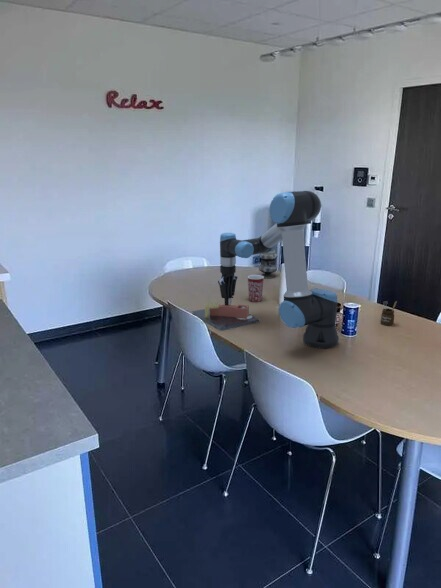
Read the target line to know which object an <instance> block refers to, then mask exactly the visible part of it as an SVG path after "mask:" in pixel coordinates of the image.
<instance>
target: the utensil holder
mask: <svg viewBox="0 0 441 588" xmlns="http://www.w3.org/2000/svg"><path fill="white" fill-rule="evenodd" d="M397 302H398V301H396V300H395V301H394V303H393V306H392V308H389V307H385V306H386V305H383V306H382V307H383V309H382V310H381V311H382V312H381V314H380V324H381V325H383V326H387V327H390V326H393V325H394V321H395V310H394V308H395V307H396V305H397ZM384 303H387V301H384Z"/></svg>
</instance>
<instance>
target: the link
mask: <svg viewBox="0 0 441 588" xmlns="http://www.w3.org/2000/svg"><path fill="white" fill-rule="evenodd" d="M218 305H219V308H212V309H210V316H225V317H235V318H242V319H247V317H248V315H249V314H250V313H249V311H250V310H249V304H248V305H246V304H237V305H235V304H231V305H225V304H221V303H220V304H219V303H218ZM242 306H245V307H246V308H241V307H242Z"/></svg>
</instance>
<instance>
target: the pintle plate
mask: <svg viewBox="0 0 441 588" xmlns="http://www.w3.org/2000/svg"><path fill="white" fill-rule="evenodd" d="M192 315H194V316H196V317H197V316H198V317H197V318H199V319H200V320H202V321H204V322H206V323H207V324H208V325H210V326H212V327H214V328H215V329H217V330H219V331H225V330H230V329H234V328H240V327H242V326H243V327H244V326H247V325H253V324H256V322H257V323H260V319H259V318H257V317H255V316H253V314H251V313H249V315H248V317H247V319H242V318H235V317H225V316H210V309H209V319H205V308H203V309H198V310H193V311H192Z"/></svg>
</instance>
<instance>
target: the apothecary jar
mask: <svg viewBox="0 0 441 588" xmlns="http://www.w3.org/2000/svg"><path fill="white" fill-rule="evenodd" d="M258 255H259V258H260V265H259V266H258V270H259V271H260V272H261V273H263V274H260V275H261V276H264V279H274V278H276V275H275V274H273V273H275V272H276V271H277V270H278V267H277V265H276V259H278V254H277V253H276V250H275V249H273V250H272V251H271V252H268V253H261V254H258Z"/></svg>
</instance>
